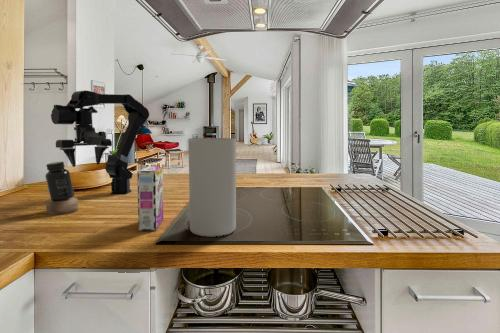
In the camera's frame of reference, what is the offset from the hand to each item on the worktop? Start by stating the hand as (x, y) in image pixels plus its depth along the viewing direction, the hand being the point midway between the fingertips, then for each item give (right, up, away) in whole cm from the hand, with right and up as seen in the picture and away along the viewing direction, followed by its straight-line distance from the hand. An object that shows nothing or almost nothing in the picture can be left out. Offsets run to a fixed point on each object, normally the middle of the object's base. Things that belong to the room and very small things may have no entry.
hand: (86, 165), depth 121 cm
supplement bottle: (+1, -11, -17) cm, 20 cm away
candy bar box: (+35, -17, -30) cm, 49 cm away
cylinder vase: (+53, -18, -34) cm, 65 cm away
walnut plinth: (+1, -15, -16) cm, 23 cm away
